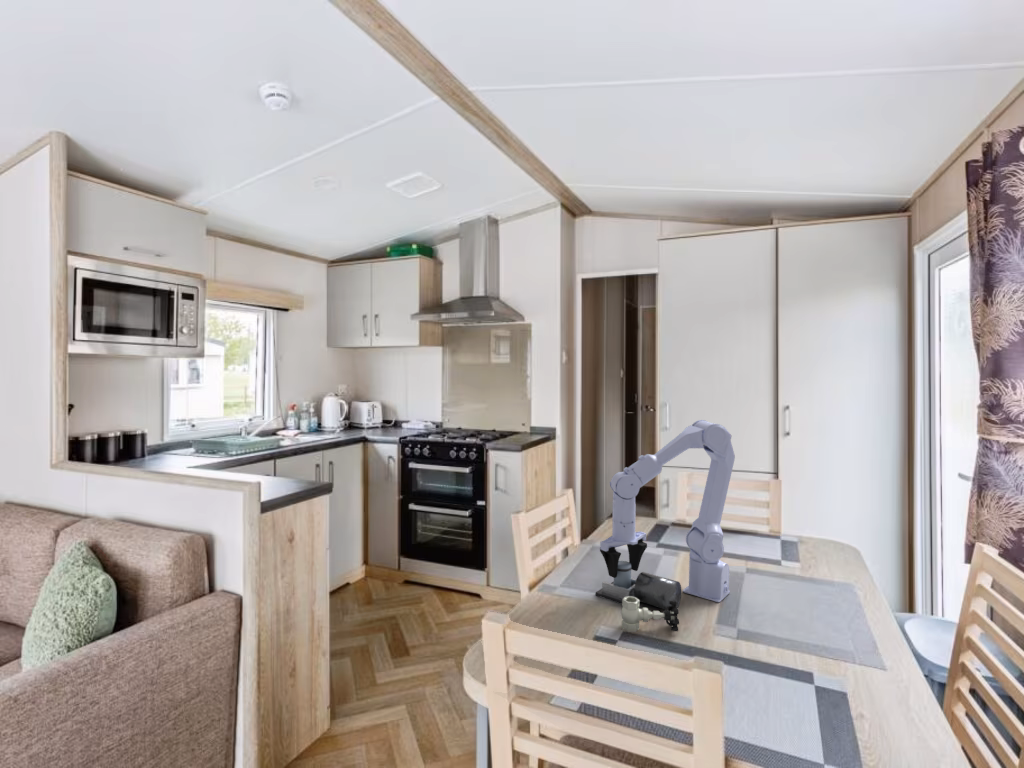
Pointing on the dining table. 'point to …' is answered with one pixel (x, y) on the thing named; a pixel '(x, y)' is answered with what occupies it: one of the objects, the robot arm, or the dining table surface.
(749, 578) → the dining table surface
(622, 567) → the banded grey cylinder
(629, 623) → the valve
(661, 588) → the motor
